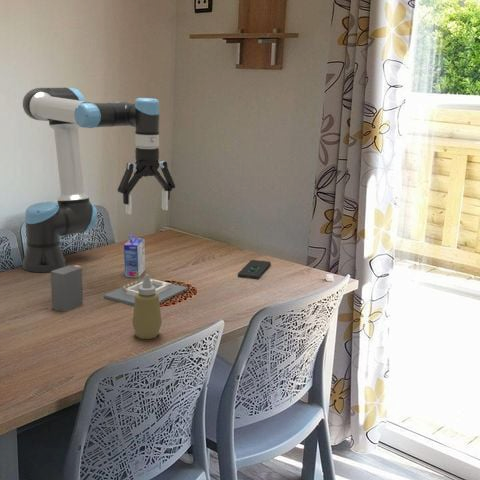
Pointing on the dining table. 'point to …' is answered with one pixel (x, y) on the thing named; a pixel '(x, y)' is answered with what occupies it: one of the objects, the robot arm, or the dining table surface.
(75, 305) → the keyed plug
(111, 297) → the socket board
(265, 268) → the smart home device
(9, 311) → the dining table surface
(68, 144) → the robot arm
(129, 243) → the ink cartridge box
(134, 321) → the squeeze bottle
